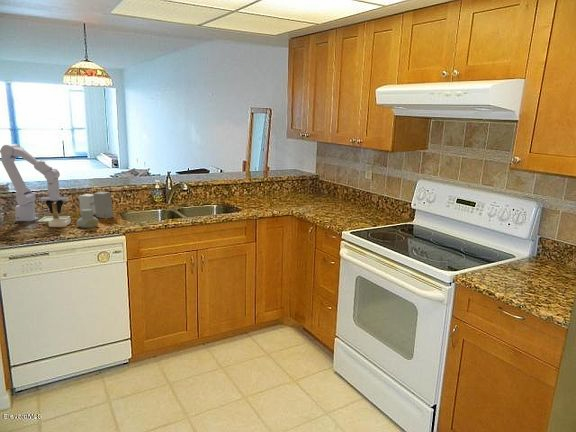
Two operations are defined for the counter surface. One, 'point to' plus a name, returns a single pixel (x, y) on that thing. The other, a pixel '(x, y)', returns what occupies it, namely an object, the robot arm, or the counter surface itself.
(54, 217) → the dowel
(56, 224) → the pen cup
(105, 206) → the skincare box
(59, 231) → the counter surface
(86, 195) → the supplement box
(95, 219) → the air freshener
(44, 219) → the tray
